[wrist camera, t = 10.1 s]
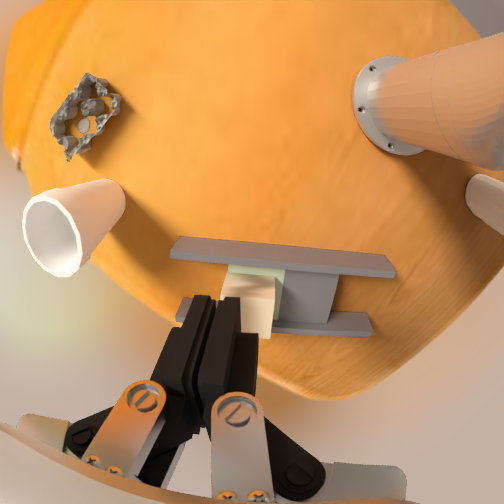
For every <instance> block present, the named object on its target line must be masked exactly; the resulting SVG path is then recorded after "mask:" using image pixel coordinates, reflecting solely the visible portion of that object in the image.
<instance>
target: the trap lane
mask: <svg viewBox="0 0 504 504" xmlns="http://www.w3.org/2000/svg"><path fill="white" fill-rule="evenodd" d="M169 254H170V259H180V260H190V261H200V262H210V263H220V264H230V265H241V266H251V267H262V268H273V269H284V270H285V274H284V281H283V288H282V295H281V301H280V308H279V314H278V320H272V327H271V332H272V333H285V334H300V335H319V336H347V337H372V335H373V333H374V331H373V328H372V326H371V323H370V321H369V318H368V316H367V313H362V312H340V311H330V310H331V306H332V303H333V299H334V295H335V291H336V288H337V284H338V280H339V276H340V274H343V275H356V276H368V277H382V278H394V277H395V274H396V270H395V269H394V267H393V266H392V265H391V263H390V262H389V260H388V259H387V257H386V256H385V255H378V254H368V253H358V252H348V251H338V250H328V249H317V248H307V247H297V246H286V245H275V244H264V243H253V242H242V241H231V240H220V239H208V238H197V237H185V236H180V237H179V238H178V240H177V241H176V242H175V244H174V245H173V247H172V248H171V249H170V251H169ZM192 300H193V298H185V297H184V298H183V300H182V302H181V305H180V307H179V309H178V311H177V313H176V316H175V317H176V322H184V320H185V317H186V315H187V312H188V310H189V307H190V305H191V303H192ZM217 305H218V301H216V309H217Z"/></svg>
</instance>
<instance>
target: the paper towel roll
mask: <svg viewBox="0 0 504 504" xmlns="http://www.w3.org/2000/svg"><path fill="white" fill-rule="evenodd" d="M465 199H466V204H467V205H468V207H469V208H470V210H471V211H472V213H473V214H474V215H476V216H477V217H479V218H480V219H482V220H483V221H484V223H486V224H487V225H489V226H490V227H492V228H493V229H495V230H496V231H497V232H499V233H500V234H501V235H503V236H504V183H503V182H501V181H499V180H496V179H494V178H492V177H489V176H487V175H485V174H477V175H475V176H473V177H472V178H471V179H470V181H469V182H468V185H467V187H466V193H465Z"/></svg>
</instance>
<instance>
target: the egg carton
mask: <svg viewBox="0 0 504 504" xmlns="http://www.w3.org/2000/svg"><path fill="white" fill-rule="evenodd" d="M93 82H96V85H95V87H96V88H97V94H98V96H111V97H114V99H113V101H112V102H111V108H113V111H112V113H111V114H103V115H101V116H99V117H97V118H96V122H97V126H96V127H97V131H96V132H95V133H88V134H85V135H84V136H83V137H82V138H80V141H79V144H78V145H77V138H76V137H75V136H73V135H71V136H66V135H65V130H66V126H65V123H64V122H65V120H66V119H73V118H74V117H76V115H77V112H78V107H77V103H78V102H79V101H84V100H85V101H84V102H82V104H81V112H82V114H83V117H88V116H94V115H99V114H101V113H102V112H103V110H104V107H105V104H104V101H103V100H101V99H88V98H89V97H90V96H91V94H92V88H91V85H92V83H93ZM107 85H108V82H107V80H106V79H101V78H96V77H94V76H92V75H91V74H89V73H85V75H84V77H83V78H82V79H81V81H80V83H79V84H78V86H77V87H75V89H74V90H73V91H72V92H71V93H69V95H68V97H67V98H66V100H65V101H64V102H63V104H62V105H61V107H60V108H59V109H58V111H57V112H56V113H55V114H54V115H53V117H52V119H51V122H50V130H51V132H52V134H53V136H54V137H55V138H56V139H57V140H58V143H59V144H61V145H63V147H64V148H65V151H64V154H65V155H66V157H67V158H68V159H67V161H69V162H70V159H72V156H73V155H74V154H76V153H80V154H83V153H85V152H88V151H89V150H90V149H91V147H92V145H91V138H92V137H93V136H96V135H101V134H102V133H103V131H104V129H105V123H106V122H107V120H108V119H109V118H110V117H111V116H117V115H118V114H119V113H120V111H121V108H120V102H121V100H122V97H121V96H120V95H119V94H115V93H107V89H106V88H107ZM87 99H88V100H87ZM89 128H90V121H89V119H87V118H82V119H81V120H80V121H79V123H78V130H79V131H80V133H86V132H87V131H88V130H89Z"/></svg>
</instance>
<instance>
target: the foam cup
mask: <svg viewBox="0 0 504 504" xmlns="http://www.w3.org/2000/svg"><path fill="white" fill-rule="evenodd" d="M125 208H126V197H125V194H124V192H123V190H122V188H121V187H120V186H119V185H118V184H117V183H116V182H115V181H113V180H110V179H107V178H106V179H100V180H96V181H91V182H87V183H83V184H78V185H74V186H70V187H66V188H62V189H59V188H55V189H52V190H48V191H45V192H43V193H41V194H39V195H37V196H35V197H33V198H31V200H30V201H29V203H28V204H27V205H26V207H25V208H24V213H23V220H22V228H23V233H24V239H25V242H26V244H27V246H28V249H29V251H30V252H31V254H32V257H33V258H34V259H35V260H36V262H38V264H39V265H40V266H41V267H42V268H43V269H44V270H45V271H47V272H49V273H51V274H52V275H54V276H56V277H70V276H71V275H72V274H73V273H75V272H76V271H77V270H78V269H79V268H80V267H81V266H82V265H84V264H85V262H87V261H88V260H89V259H90V256H91V254H92V252H93V251H94V250H95V248H96V247H97V246H98V245H99V243H100V242H101V241H102V239H103V238H104V237H105V236H106V235H107V233H108V232H109V231H110V230H111V228H112V227H113V226H114V225H115V224H116V222H117V221H118V220H119V219H120V218H121V216H122V215H123V213H124V210H125Z"/></svg>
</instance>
